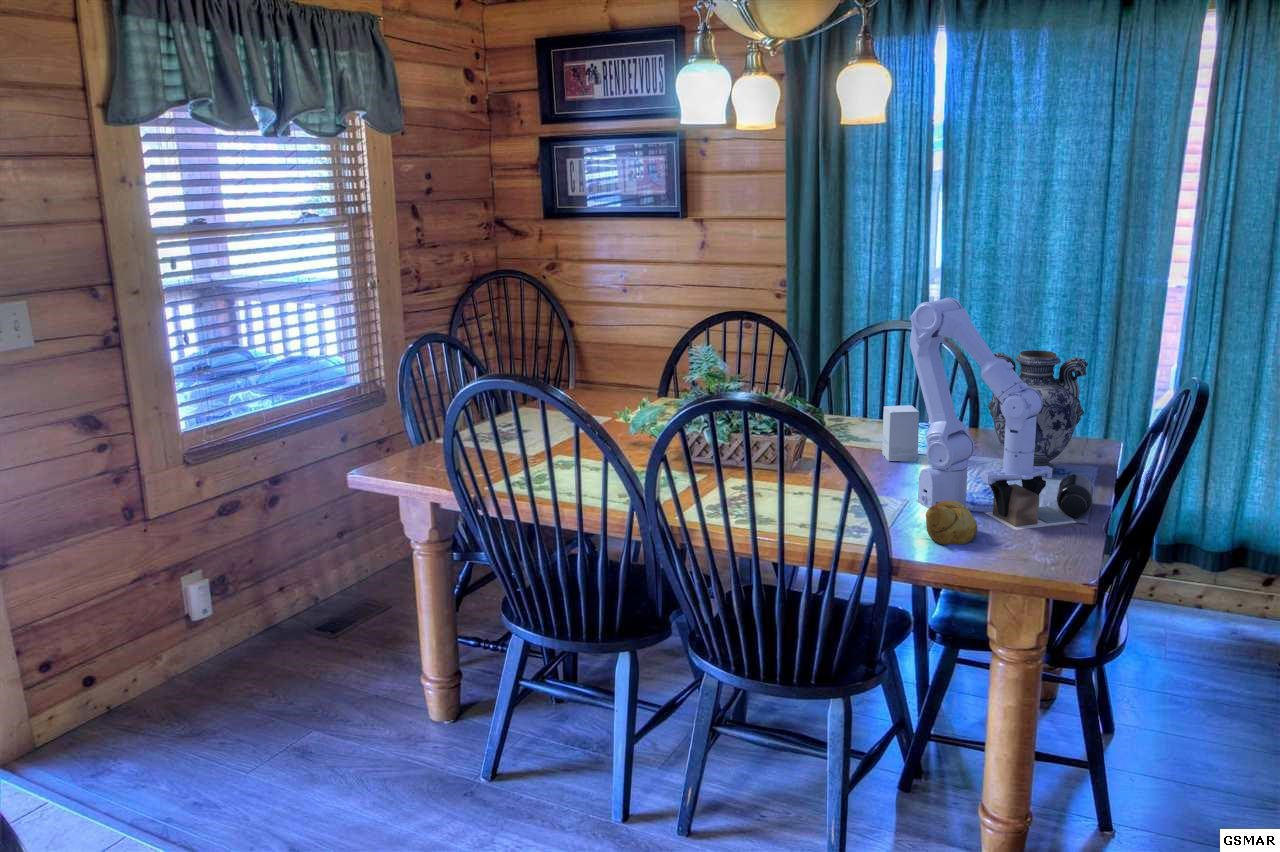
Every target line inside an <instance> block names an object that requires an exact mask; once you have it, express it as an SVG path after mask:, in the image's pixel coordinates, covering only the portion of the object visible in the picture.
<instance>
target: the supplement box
mask: <svg viewBox="0 0 1280 852" xmlns="http://www.w3.org/2000/svg"><path fill="white" fill-rule="evenodd" d="M882 414H883V415H882V419H883V423H882V425H883V426H882V451H881V453H882V456H883V457H884V456H885V457H884V458H885V459H886V460H887V461H888V462H889V461H900V462H917V461H918V456H919V455H918V453H919V429H920V427H919V425H920V411H919V410H918V409H917V408H916V407H914V406H913V405H908V404H907V405H905V404H904V405H887V406H886V405H885V406H883V413H882Z"/></svg>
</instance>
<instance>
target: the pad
mask: <svg viewBox="0 0 1280 852" xmlns="http://www.w3.org/2000/svg"><path fill="white" fill-rule="evenodd" d="M1042 506H1043V507H1039V509H1038V519H1039V520H1041V521H1043V522H1045V523H1047V524H1048V523H1056V522H1065V521H1073V520H1074V517H1070V516H1068V515H1066V514H1065V513H1063V512H1062V511H1058V510H1057V509H1055V508H1052V507H1051V506H1049V505H1042ZM1074 521H1075V520H1074Z"/></svg>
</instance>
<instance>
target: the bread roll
mask: <svg viewBox="0 0 1280 852" xmlns="http://www.w3.org/2000/svg"><path fill="white" fill-rule="evenodd" d="M925 518H926V519H925V520H926V521H925V522H926V523H925V524H926V525H925V526H926V532H927V534H928V536H929V538H930V539H931V540H932V541H934V542H935V543H937V544H940V545H943V546H948V545H966V544H969V543H970V542H972V541H973V540H974V539H975V537H976V536H977V534H978V527H979V526H978V524H977V523H978V522H977V520H976V518H975V517H974V515H973V514H972V513H971V511H970V509H969V508H966V507H965V506H964V505H962V504H961V503H959V502H956V501H951V500H950V501H942V502H939V503H937V504H935V505H934V506H932V507H930V508H929V509H928V508H927V511H926V512H925Z"/></svg>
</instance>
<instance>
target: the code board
mask: <svg viewBox="0 0 1280 852" xmlns="http://www.w3.org/2000/svg"><path fill="white" fill-rule="evenodd" d="M1043 506H1044V505H1039V507H1043ZM984 514H985V515H988V516H989V517H991V518H993V519H994V520H997V521H998V522H1000V523H1002V524H1004V525H1005V526H1008V527H1009V528H1010V529H1013V530H1014V531H1018V530H1019V531H1020V530H1025V529H1026V530H1027V529H1034V528H1043V527H1049V526H1050V527H1051V526H1058V525H1066V524H1067V525H1068V524H1075V523H1077V521H1076V520H1073V521H1065V522H1056V523H1048V524H1047V523H1045V522H1043V521H1041V520H1039V519H1038V524H1034V525H1025V526H1017V527H1015V526H1013V525H1011V524H1009V523H1008V522H1006V521H1004V520H1002V519H1000V518H999V517H997V516H995V515H993V511H987V512H984Z"/></svg>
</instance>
